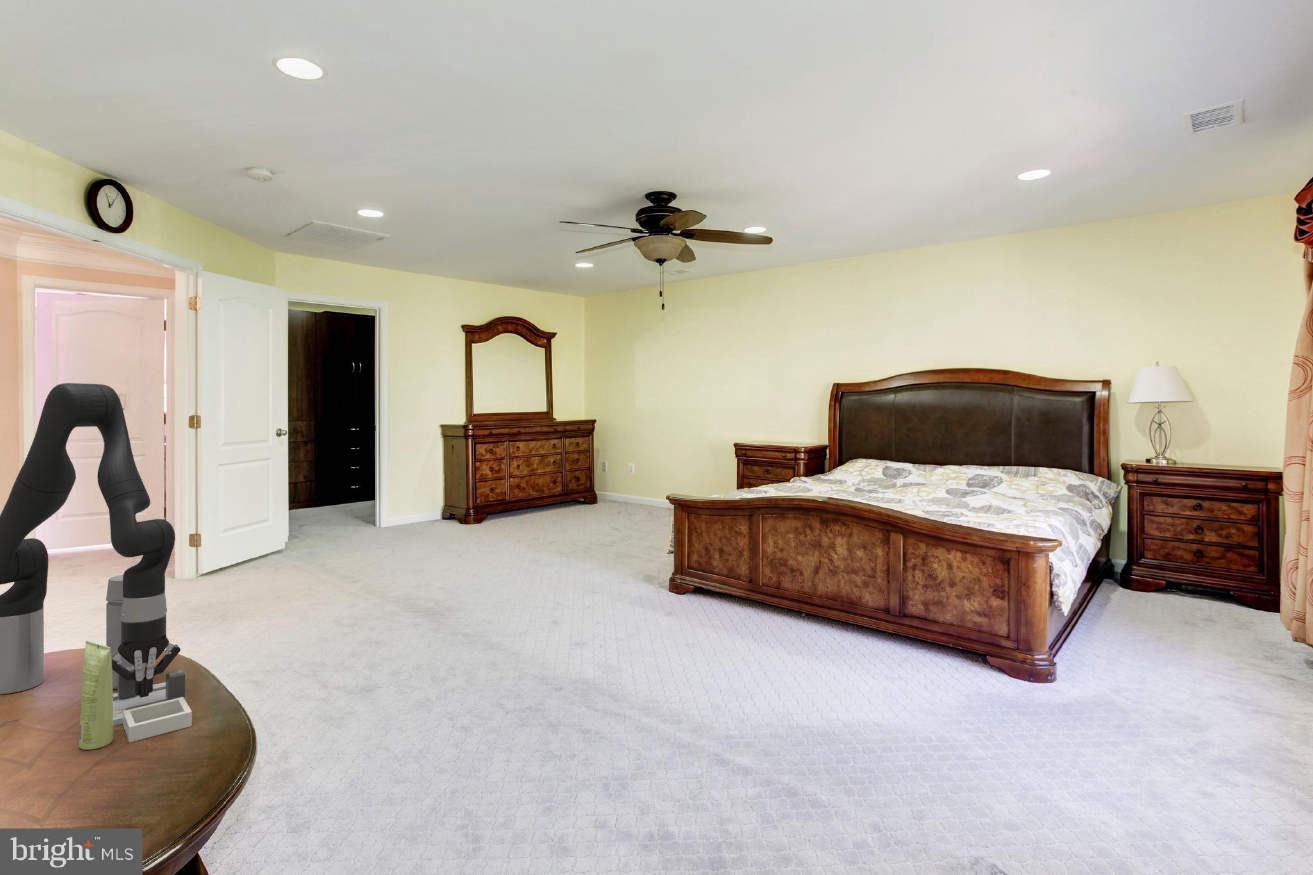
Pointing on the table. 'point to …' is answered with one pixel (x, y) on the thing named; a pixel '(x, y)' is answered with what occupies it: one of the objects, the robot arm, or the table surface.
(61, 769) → the table surface
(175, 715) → the frame
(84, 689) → the tube
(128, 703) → the breaker panel
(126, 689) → the block
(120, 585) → the water bottle
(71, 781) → the table surface
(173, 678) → the block
